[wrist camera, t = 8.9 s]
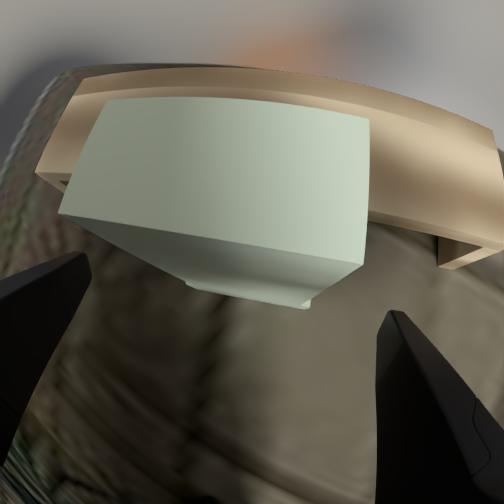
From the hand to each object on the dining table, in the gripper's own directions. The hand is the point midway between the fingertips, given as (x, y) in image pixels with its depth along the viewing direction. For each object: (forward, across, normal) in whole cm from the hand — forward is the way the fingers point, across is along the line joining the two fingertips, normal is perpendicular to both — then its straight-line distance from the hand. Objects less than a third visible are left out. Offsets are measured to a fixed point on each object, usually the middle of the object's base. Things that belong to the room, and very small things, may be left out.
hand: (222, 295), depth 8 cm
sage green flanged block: (+9, 0, +2) cm, 9 cm away
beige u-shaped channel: (+11, 0, 0) cm, 11 cm away
